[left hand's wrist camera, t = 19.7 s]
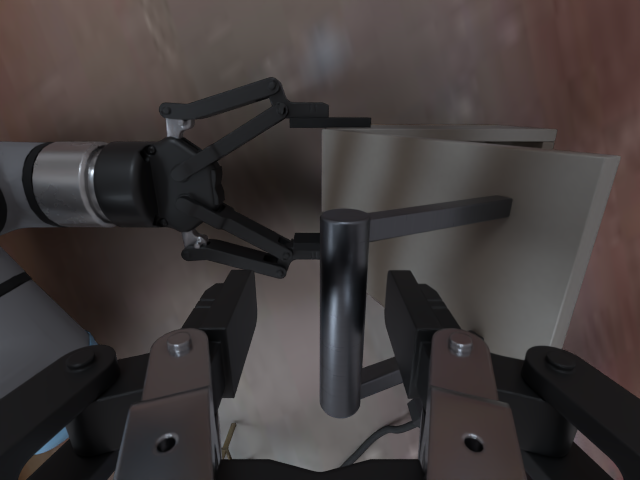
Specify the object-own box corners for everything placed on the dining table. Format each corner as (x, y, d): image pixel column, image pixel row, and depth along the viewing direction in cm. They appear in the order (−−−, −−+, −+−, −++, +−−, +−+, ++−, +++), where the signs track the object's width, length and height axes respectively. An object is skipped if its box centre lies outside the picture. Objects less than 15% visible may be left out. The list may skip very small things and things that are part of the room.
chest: (493, 124, 34) (558, 129, 25) (477, 218, 38) (528, 253, 29) (324, 124, 34) (326, 128, 25) (324, 218, 38) (325, 252, 29)
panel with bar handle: (622, 155, 10) (387, 177, 6) (540, 418, 13) (362, 519, 10) (331, 128, 25) (218, 131, 22) (329, 254, 28) (232, 272, 25)
